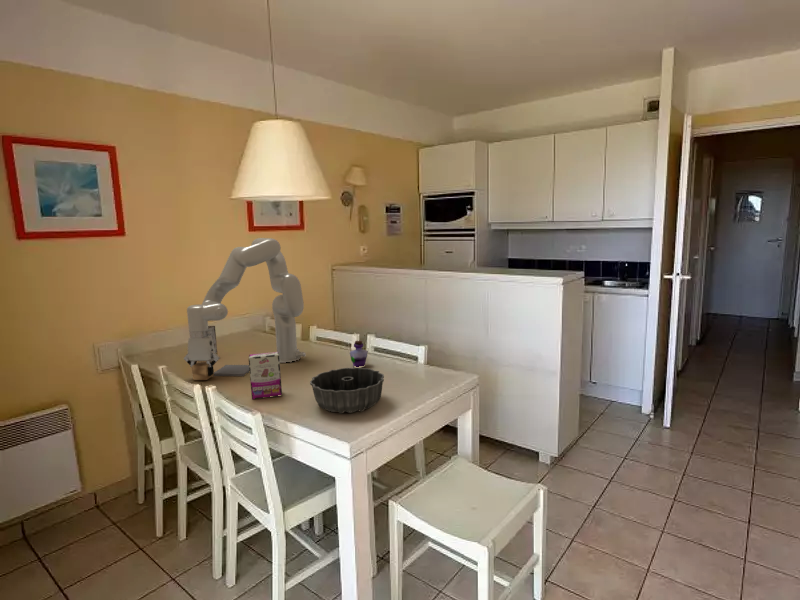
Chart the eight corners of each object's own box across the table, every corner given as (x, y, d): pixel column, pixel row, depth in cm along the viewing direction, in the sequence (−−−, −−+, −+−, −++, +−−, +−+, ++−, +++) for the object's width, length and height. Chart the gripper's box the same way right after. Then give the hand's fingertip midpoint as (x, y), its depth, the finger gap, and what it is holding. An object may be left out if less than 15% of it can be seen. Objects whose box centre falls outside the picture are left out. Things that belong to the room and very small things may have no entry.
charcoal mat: (255, 367, 216) (255, 365, 216) (243, 376, 203) (243, 374, 203) (226, 366, 217) (225, 364, 217) (212, 375, 205) (212, 373, 204)
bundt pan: (295, 409, 166) (294, 382, 164) (344, 387, 188) (343, 363, 186) (353, 425, 151) (352, 396, 150) (399, 399, 173) (398, 373, 171)
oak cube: (213, 375, 203) (212, 361, 202) (206, 380, 197) (205, 366, 196) (200, 375, 204) (199, 361, 203) (193, 379, 198) (191, 366, 197)
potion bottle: (346, 368, 212) (345, 342, 210) (355, 362, 220) (355, 337, 218) (362, 370, 208) (362, 344, 206) (372, 364, 216) (371, 339, 214)
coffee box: (218, 357, 234) (215, 325, 231) (212, 360, 227) (209, 328, 225) (200, 357, 235) (198, 325, 232) (194, 360, 228) (191, 328, 226)
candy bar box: (281, 392, 183) (279, 351, 181) (282, 396, 178) (279, 354, 176) (251, 395, 180) (248, 353, 178) (251, 399, 176) (248, 357, 173)
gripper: (223, 331, 200) (226, 372, 203) (184, 332, 202) (188, 372, 205) (214, 336, 193) (218, 378, 196) (174, 336, 194) (179, 378, 197)
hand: (203, 374), depth 200 cm, fingers closed on oak cube, 6 cm apart
